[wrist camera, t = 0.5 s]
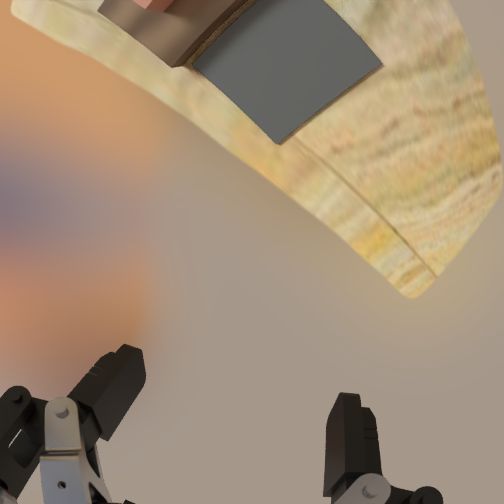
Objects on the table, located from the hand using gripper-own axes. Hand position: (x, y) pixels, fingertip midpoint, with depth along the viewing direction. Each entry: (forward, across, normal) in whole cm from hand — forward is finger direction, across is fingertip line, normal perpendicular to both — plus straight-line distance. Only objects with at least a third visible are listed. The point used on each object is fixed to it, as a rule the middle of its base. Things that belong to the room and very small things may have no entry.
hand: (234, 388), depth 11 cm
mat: (+25, +2, -19) cm, 31 cm away
